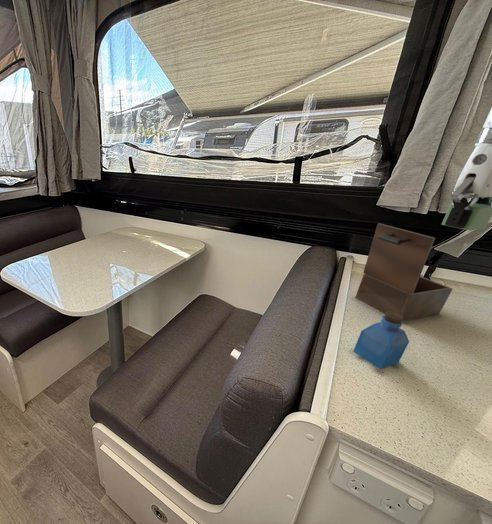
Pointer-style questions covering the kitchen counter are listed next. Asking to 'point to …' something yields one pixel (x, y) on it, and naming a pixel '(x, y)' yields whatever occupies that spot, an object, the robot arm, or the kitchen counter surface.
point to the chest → (404, 297)
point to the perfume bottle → (383, 341)
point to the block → (475, 217)
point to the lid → (398, 257)
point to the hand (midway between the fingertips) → (463, 224)
